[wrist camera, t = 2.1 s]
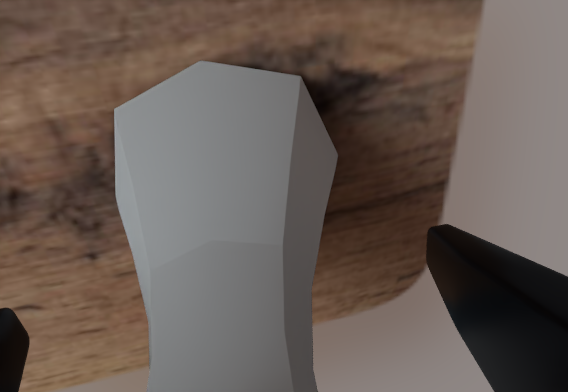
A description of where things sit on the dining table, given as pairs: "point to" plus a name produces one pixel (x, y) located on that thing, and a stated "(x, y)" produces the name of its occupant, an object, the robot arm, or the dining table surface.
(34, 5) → the dining table surface
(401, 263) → the dining table surface
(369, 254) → the dining table surface
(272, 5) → the dining table surface
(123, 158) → the flask
